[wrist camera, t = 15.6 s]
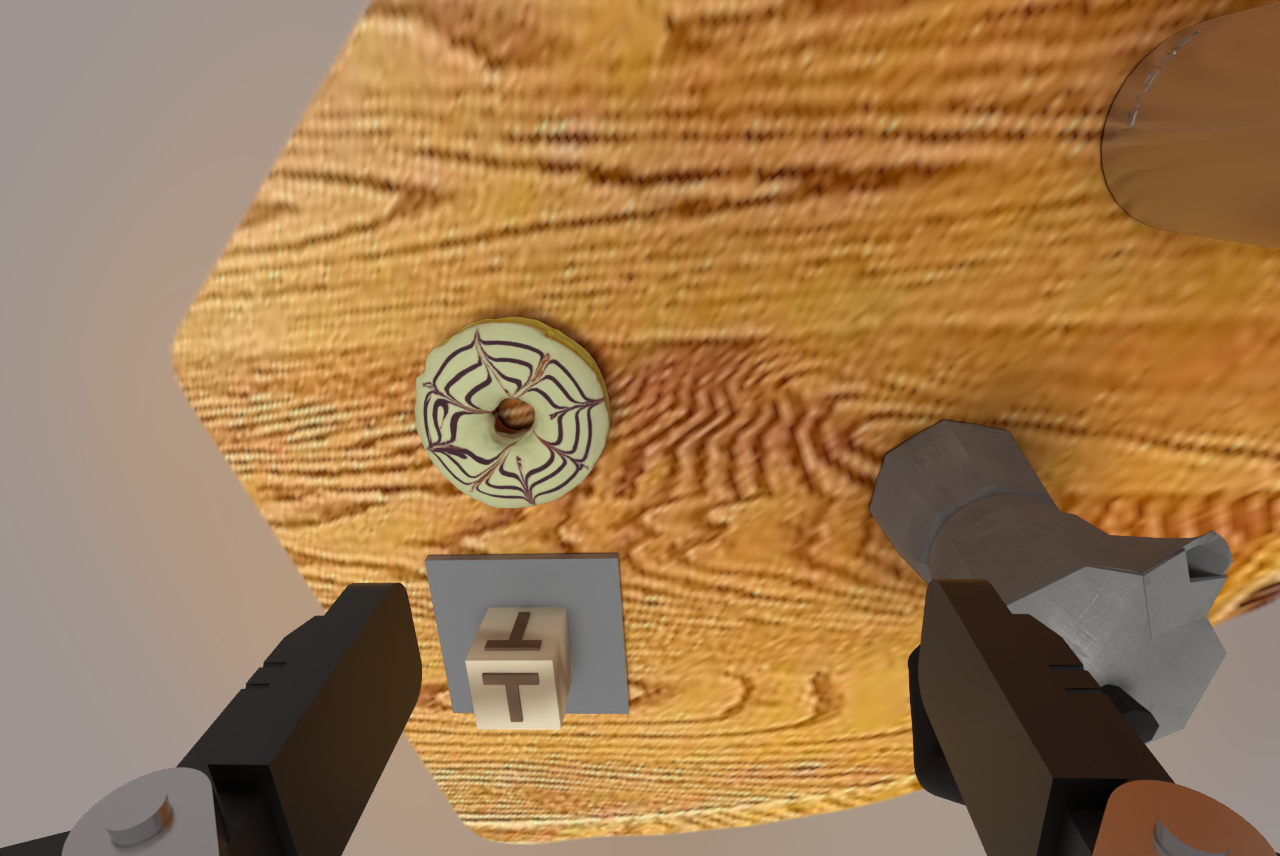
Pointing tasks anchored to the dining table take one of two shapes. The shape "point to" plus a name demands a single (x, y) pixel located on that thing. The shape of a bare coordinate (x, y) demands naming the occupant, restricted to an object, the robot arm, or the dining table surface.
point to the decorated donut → (520, 369)
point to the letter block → (521, 668)
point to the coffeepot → (1052, 578)
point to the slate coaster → (537, 582)
